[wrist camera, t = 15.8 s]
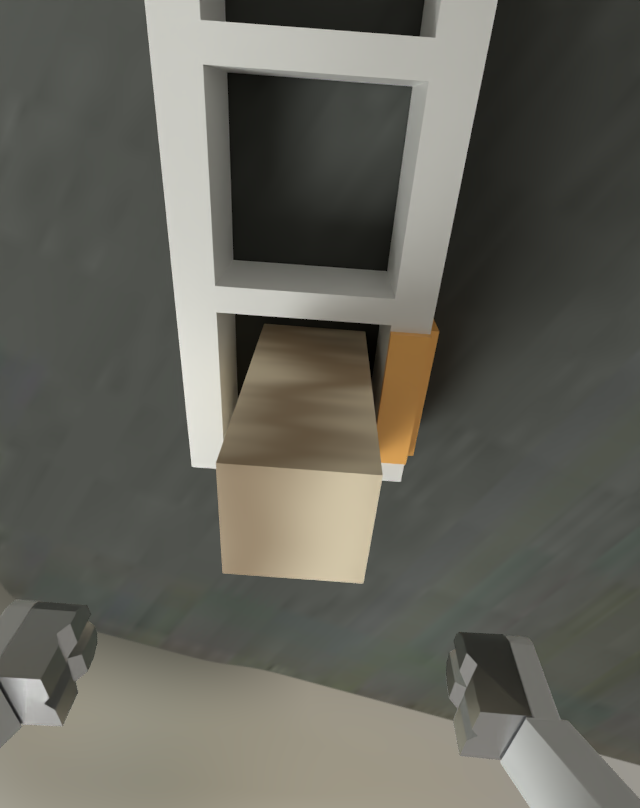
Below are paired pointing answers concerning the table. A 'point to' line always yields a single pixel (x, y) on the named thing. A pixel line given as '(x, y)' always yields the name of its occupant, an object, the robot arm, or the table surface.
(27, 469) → the table surface
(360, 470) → the wooden block
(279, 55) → the rack
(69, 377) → the table surface
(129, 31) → the table surface
